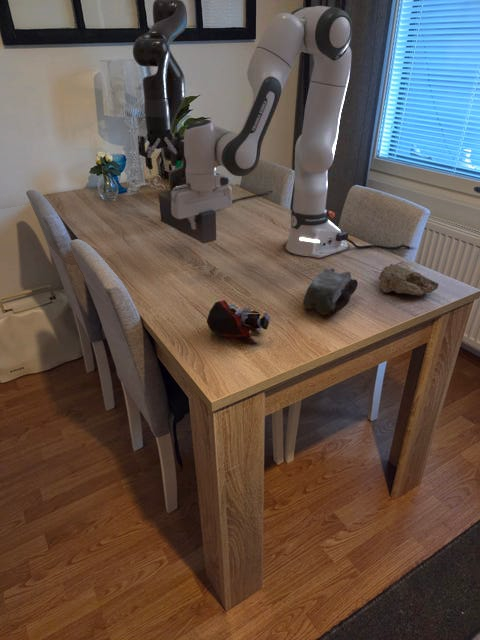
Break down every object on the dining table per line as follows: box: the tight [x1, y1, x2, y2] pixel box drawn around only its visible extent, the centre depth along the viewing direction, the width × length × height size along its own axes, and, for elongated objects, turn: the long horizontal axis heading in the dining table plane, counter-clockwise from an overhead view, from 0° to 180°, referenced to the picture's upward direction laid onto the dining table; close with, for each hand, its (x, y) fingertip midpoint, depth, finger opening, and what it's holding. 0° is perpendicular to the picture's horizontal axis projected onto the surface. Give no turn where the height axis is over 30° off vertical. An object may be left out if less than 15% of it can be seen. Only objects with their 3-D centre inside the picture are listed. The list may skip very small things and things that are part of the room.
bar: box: [158, 192, 217, 245], centre depth 143 cm, size 26×5×9 cm, turn 39°
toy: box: [206, 299, 271, 345], centre depth 109 cm, size 12×9×15 cm
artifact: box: [378, 261, 439, 296], centre depth 132 cm, size 18×7×15 cm
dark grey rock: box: [302, 268, 359, 317], centre depth 123 cm, size 18×11×8 cm, turn 152°
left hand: (162, 167), depth 147 cm, fingers open, 8 cm apart
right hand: (203, 226), depth 137 cm, fingers closed on bar, 5 cm apart
